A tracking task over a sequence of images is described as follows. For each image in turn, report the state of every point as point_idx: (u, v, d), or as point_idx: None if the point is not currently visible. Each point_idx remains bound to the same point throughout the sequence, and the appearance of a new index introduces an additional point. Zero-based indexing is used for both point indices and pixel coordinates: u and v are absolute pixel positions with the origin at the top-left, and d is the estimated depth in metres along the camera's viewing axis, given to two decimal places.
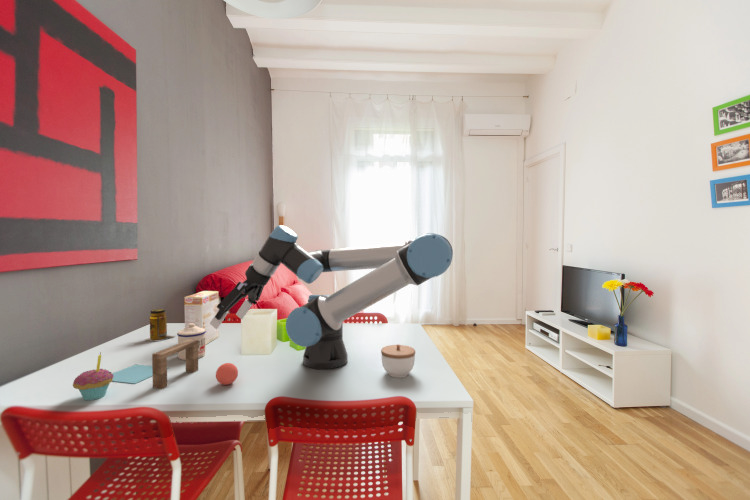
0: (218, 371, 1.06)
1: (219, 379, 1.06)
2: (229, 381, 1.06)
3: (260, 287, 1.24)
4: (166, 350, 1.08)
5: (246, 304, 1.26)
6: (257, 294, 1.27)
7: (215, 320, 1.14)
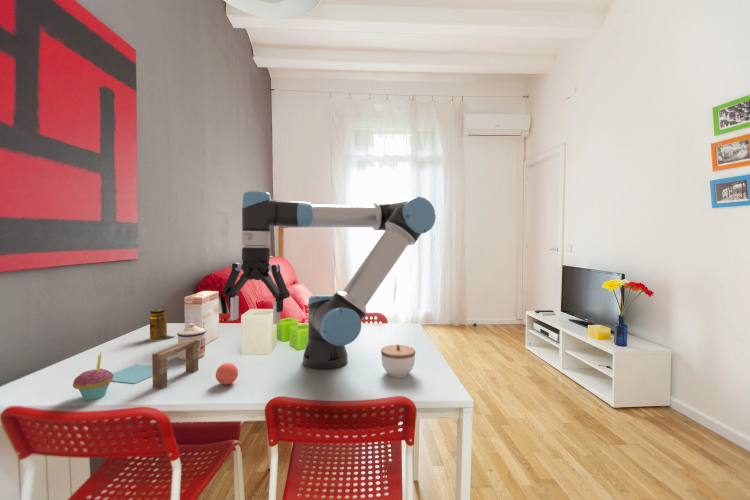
0: (218, 371, 1.06)
1: (219, 379, 1.06)
2: (229, 381, 1.06)
3: (238, 272, 1.08)
4: (166, 350, 1.08)
5: (235, 300, 1.07)
6: (233, 284, 1.08)
7: (277, 316, 1.04)
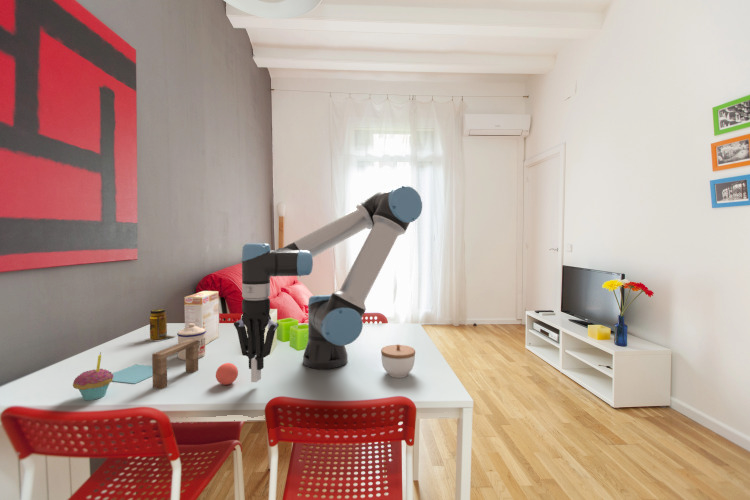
0: (218, 371, 1.06)
1: (219, 379, 1.06)
2: (229, 381, 1.06)
3: (244, 328, 1.07)
4: (166, 350, 1.08)
5: None
6: (247, 341, 1.07)
7: (257, 373, 1.06)
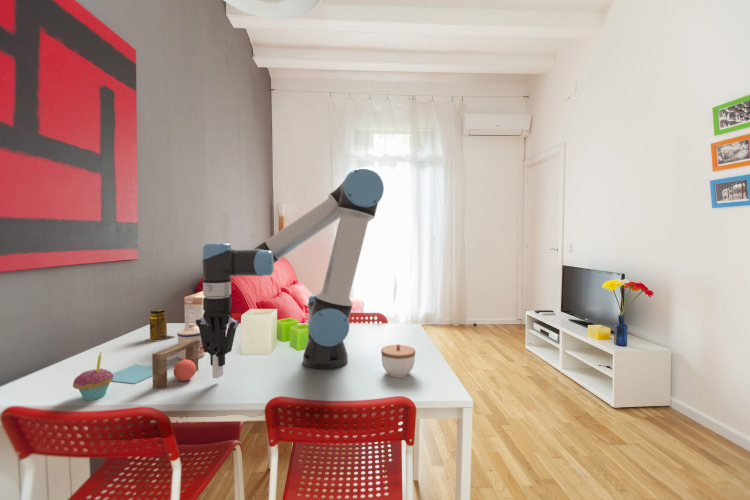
0: (184, 371, 1.08)
1: (176, 371, 1.08)
2: None
3: (206, 326, 1.10)
4: (166, 350, 1.08)
5: None
6: None
7: (219, 370, 1.08)
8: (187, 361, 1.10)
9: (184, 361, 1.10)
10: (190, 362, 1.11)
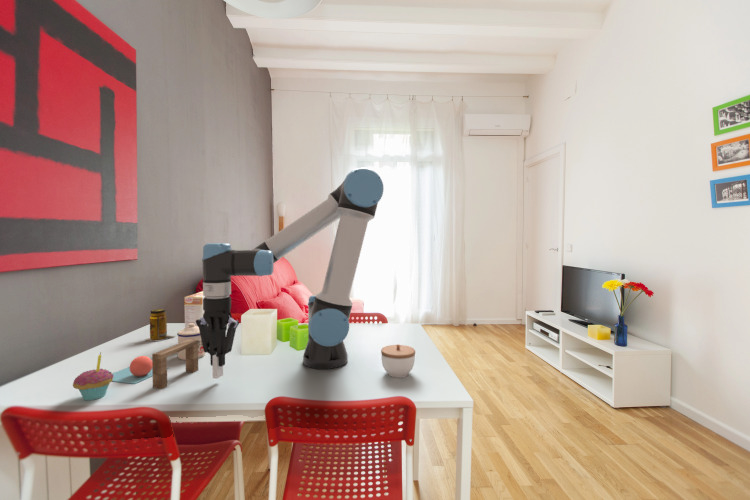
0: (138, 373, 1.11)
1: (135, 367, 1.11)
2: (131, 362, 1.12)
3: (206, 326, 1.10)
4: (166, 350, 1.08)
5: None
6: None
7: (219, 370, 1.08)
8: (149, 367, 1.13)
9: (147, 366, 1.13)
10: (149, 369, 1.13)
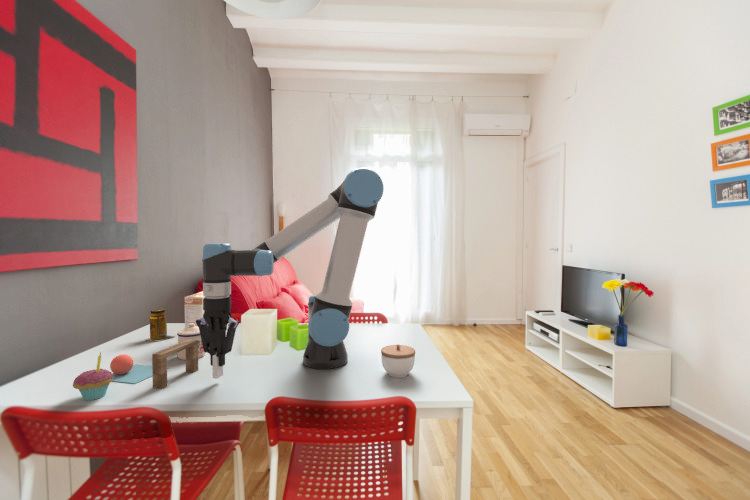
0: (116, 361, 1.13)
1: (111, 367, 1.12)
2: (117, 374, 1.13)
3: (206, 326, 1.10)
4: (166, 350, 1.08)
5: None
6: None
7: (219, 370, 1.08)
8: (116, 356, 1.15)
9: None
10: (119, 355, 1.15)
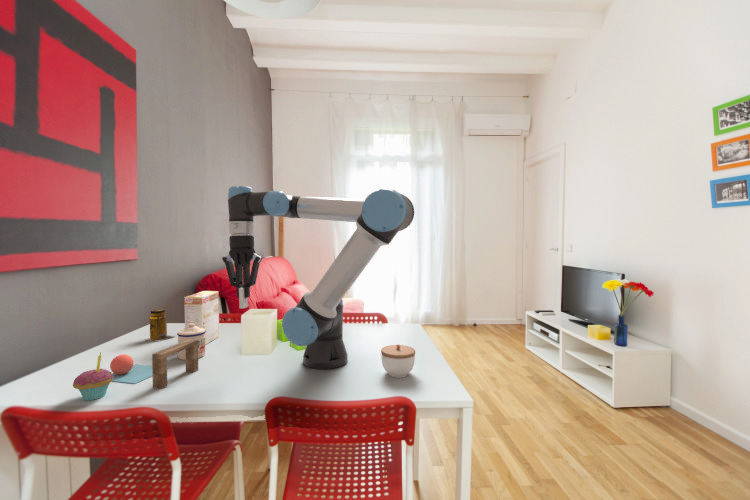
0: (116, 361, 1.13)
1: (111, 367, 1.12)
2: (117, 374, 1.13)
3: (231, 263, 1.22)
4: (166, 350, 1.08)
5: None
6: (234, 274, 1.22)
7: (245, 301, 1.21)
8: (116, 356, 1.15)
9: None
10: (119, 355, 1.15)
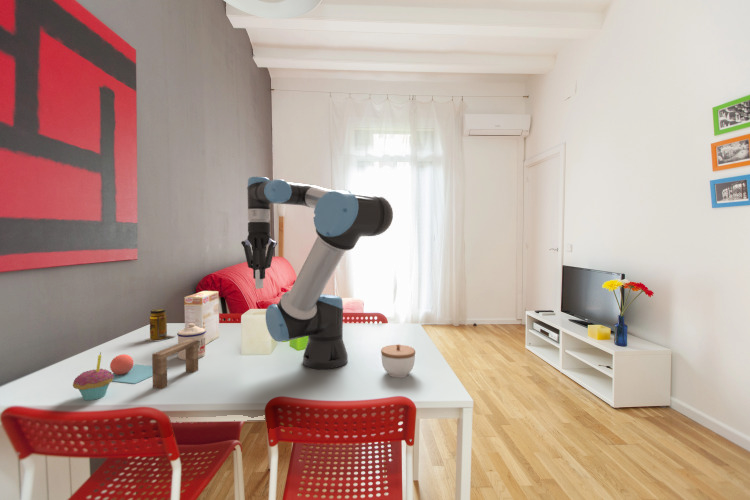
0: (116, 361, 1.13)
1: (111, 367, 1.12)
2: (117, 374, 1.13)
3: (249, 247, 1.34)
4: (166, 350, 1.08)
5: None
6: (252, 257, 1.33)
7: (260, 282, 1.32)
8: (116, 356, 1.15)
9: None
10: (119, 355, 1.15)
